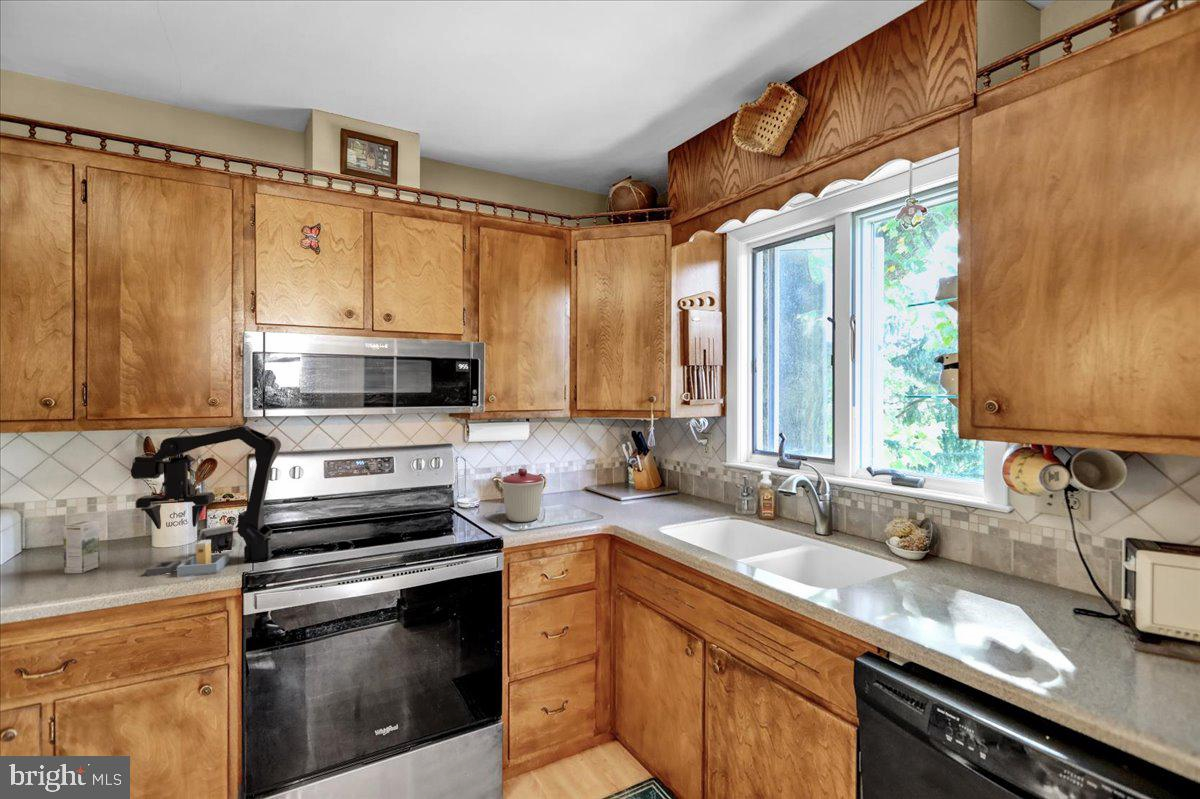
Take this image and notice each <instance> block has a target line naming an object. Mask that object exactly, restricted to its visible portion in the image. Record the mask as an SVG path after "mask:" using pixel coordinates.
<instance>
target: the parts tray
mask: <svg viewBox="0 0 1200 799" xmlns="http://www.w3.org/2000/svg"><path fill="white" fill-rule="evenodd" d="M229 553H230V552H227V553H222V554H215V555H211V563H209V564H197V565H196V555H193V556H190V557H189V558H187V559H186V560H184V561H183V562H181V564H180V565H179V566H177V570H176V577H177V576H184V577H192V576H191V575H195V576H206V575H215V573H217V574H218V573H219V572H220V571H222V570H223V569H224V568H225V567H226V566H227V565H228V564H229V563H230V554H229ZM228 562H229V563H228ZM227 563H228V564H227ZM226 564H227V565H226ZM225 565H226V566H225ZM224 566H225V567H224ZM223 567H224V568H223ZM222 568H223V569H222ZM221 569H222V570H221Z"/></svg>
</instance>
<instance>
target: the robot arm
mask: <svg viewBox="0 0 1200 799" xmlns="http://www.w3.org/2000/svg"><path fill="white" fill-rule="evenodd" d="M235 440H240V441H241V442H243V443H245V444H246V445H247V446H249V447H250V448H252V449H254V459H255V465H256V467H255V470H254V475H253V480H252V484H251V489H250V494H249V499H248V504H247V507H246V510H244V511H242V512H241V513H239V514H238V515H237V516H238V517H237V524H236V526H235V529H236V530H237V534H238V536H240V537H241V538H242V539H243V541H244V542H245V546H244V547H243V554H244V556H243V558H244V563H245V564H249V563H250V564H251V563H259V562H260V563H261V562H267V561H269V560H270V559H271V558H272V557H273V556H274V554H273V553H272V538H271V535H272V533H273V529H272V528H270V527H269V526H268V525H267V524H266V523H265V512H264V511H265V510H264V504H265V501H266V500H265V499H266V494H267V490H268V485H269V482H270V481H269V480H270V477H271V472H272V471H271V470H272V467H273V465H274V462H275V461H276V459H277V457H278V455H279V452H280V450H281V447H282V443H281V441H280V439H279V438H277V437H276V436H269V435H266V434H265V433H262V432H261V431H258V430H255V429H253V428H252V427H250V426H248V425H240V426H237V427H234V428H229V429H224V430H219V431H214V432H209V433H204V434H197V435H196V434H194V435H175V436H172V437H166V438H165V439H163V440H162V441H161V442H160V444H159V449H158V450H157V452H156V453H155V454H154V455H153V456H145V455H144V456H143V455H139V456H138V455H137V456H135V457H134V462H132V465H131V469H130V474H131V475H130V476H131V477H132V478H133V479H134V480H141V479H144V480H146V479H159V478H160V477H161V475H163V482H162V483H161V484H162V485H161V486H162V487H163V489H164V490H163V492H164V494H163V495H162V497H161V496H160V495H159V494H151V495H149V494H147V495H143V496H141V497H139V498H137V499H136V501H135V509H140V511H144V512H145V513H146V514H147V516H148V517H149V518H150V520H151V521H152V522H153V524H154V525H155V528H156V529H157V530H161V528H162V519H161V507H162V504H177V503H178V504H179V503H180V504H181V503H193V504H194V505H192V506H191V511H192V512H191V522H192V527H193V528H195V527H197V524H198V521H199V520H200V516H201V514H202V511H203V510H204V508H205V507H207V506H208V505H209V504H211V503H212V502H215V500H216V495H215V494H214V492H212V491H210V492H206V491H205V492H199V493H197V494H196V487H197V486H196V485H195V484H193V483H191V482H190V478H188V464H190V463H192V462H195V461H196V458H194V457H193V456H191V455H190V454H189V453H188V452H191V451H194V450H196V449H198V448H201V447H206V446H211V445H216V444H220V443H221V444H222V443H225V442H230V441H235ZM185 453H187V454H185ZM182 454H185V455H184V456H179V455H182ZM175 456H176V457H175ZM169 458H171V459H170V460H165V459H169Z"/></svg>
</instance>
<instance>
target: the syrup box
mask: <svg viewBox="0 0 1200 799" xmlns="http://www.w3.org/2000/svg"><path fill="white" fill-rule="evenodd" d="M62 528H63V529H62V536H63V538H62V539H63V573H64V574H84V573H87V572H90V571H92V570H96V569H98V568H100V560H101V559H100V521H97V520H82V521H81V520H80V521H77V522H74V523H73V522H72V523H70V524H66V525H63V527H62ZM95 568H96V569H95Z"/></svg>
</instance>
